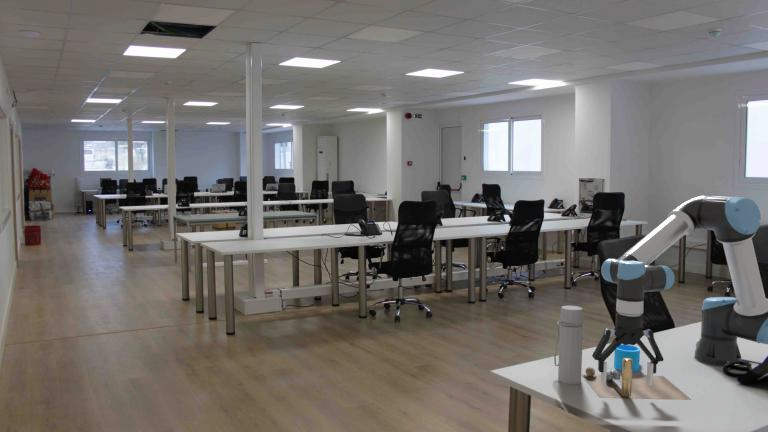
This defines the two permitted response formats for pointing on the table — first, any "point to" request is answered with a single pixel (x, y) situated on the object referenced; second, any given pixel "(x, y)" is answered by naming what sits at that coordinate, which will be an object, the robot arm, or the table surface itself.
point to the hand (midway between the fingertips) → (626, 383)
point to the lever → (626, 382)
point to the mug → (627, 356)
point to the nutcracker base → (635, 387)
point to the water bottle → (570, 344)
